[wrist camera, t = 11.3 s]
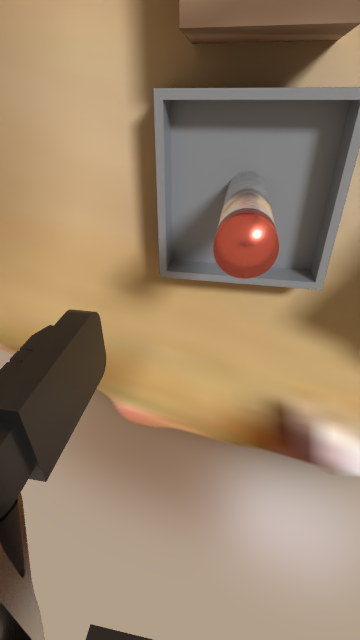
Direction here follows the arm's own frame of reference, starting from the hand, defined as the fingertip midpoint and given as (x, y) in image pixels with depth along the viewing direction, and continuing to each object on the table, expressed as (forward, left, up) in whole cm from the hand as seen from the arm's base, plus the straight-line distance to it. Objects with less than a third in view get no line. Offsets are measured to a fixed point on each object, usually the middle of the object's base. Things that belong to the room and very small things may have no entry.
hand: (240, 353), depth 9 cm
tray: (0, 0, -20) cm, 20 cm away
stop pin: (0, 0, -20) cm, 20 cm away
